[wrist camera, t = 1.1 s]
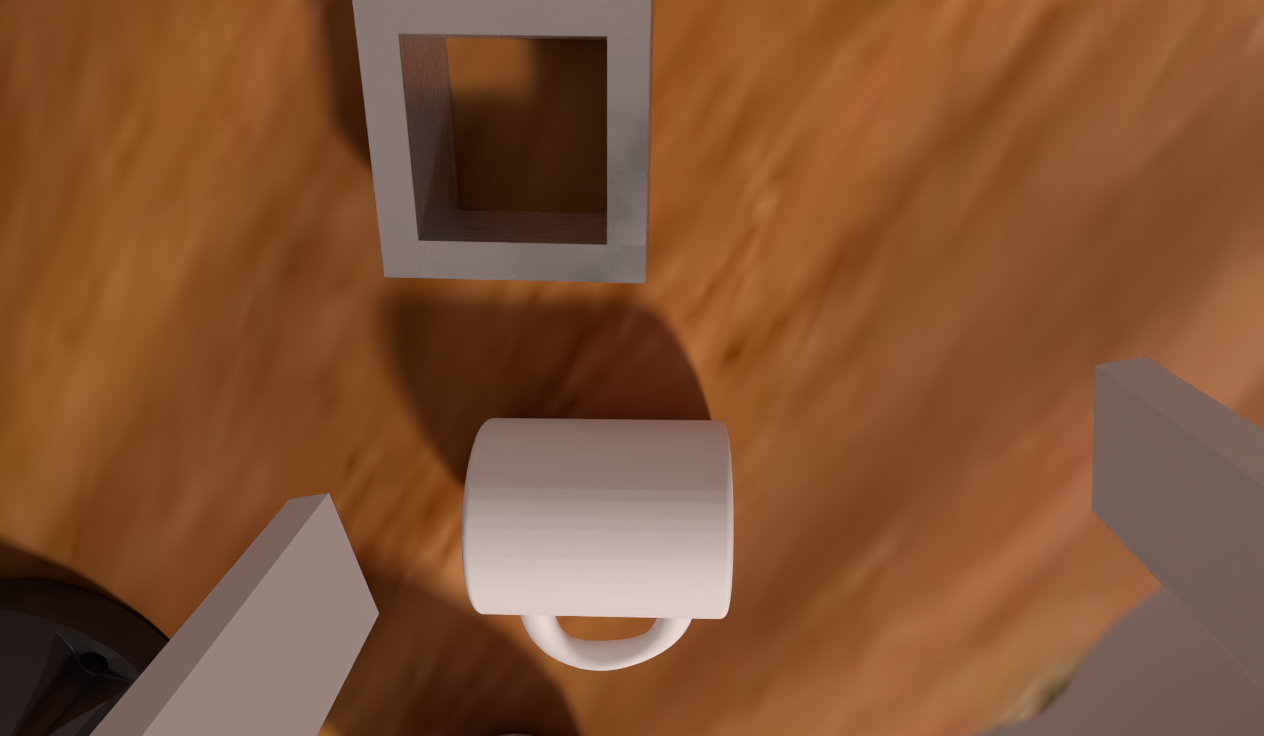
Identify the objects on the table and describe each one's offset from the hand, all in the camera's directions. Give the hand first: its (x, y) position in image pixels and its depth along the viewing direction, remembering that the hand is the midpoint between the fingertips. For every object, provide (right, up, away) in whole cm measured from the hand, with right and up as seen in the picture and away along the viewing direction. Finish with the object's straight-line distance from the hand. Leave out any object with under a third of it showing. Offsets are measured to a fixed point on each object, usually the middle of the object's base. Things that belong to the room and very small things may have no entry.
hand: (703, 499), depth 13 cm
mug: (-2, -4, +23) cm, 23 cm away
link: (-5, +12, +16) cm, 20 cm away
